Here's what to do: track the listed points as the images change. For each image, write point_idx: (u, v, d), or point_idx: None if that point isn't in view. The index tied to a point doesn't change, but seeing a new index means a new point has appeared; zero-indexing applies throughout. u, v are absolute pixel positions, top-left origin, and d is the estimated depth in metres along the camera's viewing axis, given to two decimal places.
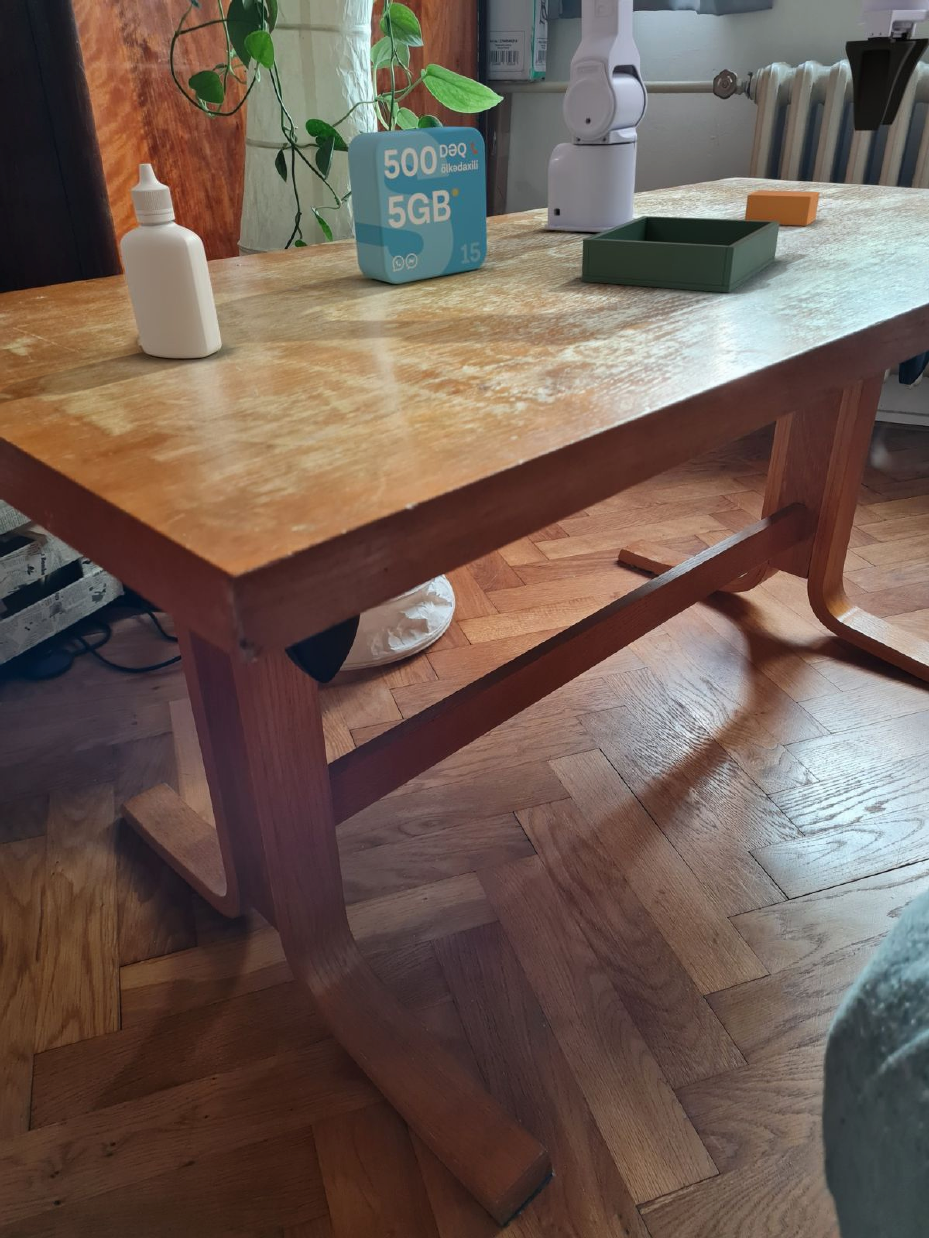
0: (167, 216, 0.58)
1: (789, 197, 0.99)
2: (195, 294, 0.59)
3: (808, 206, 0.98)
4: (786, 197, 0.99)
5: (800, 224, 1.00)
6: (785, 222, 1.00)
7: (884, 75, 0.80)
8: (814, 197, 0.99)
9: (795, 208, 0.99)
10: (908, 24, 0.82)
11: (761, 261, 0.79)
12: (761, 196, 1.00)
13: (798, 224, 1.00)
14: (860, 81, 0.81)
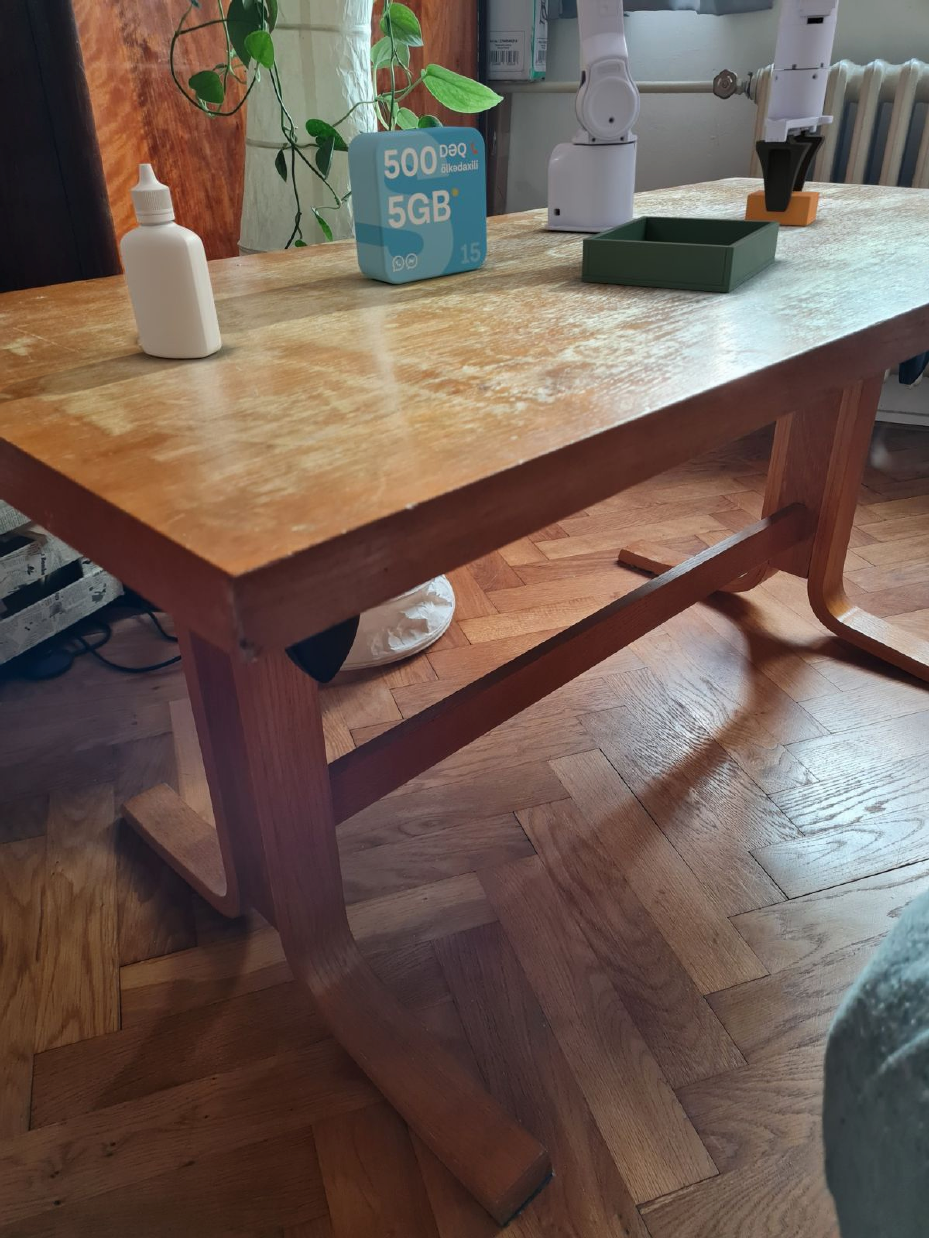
0: (167, 216, 0.58)
1: None
2: (195, 294, 0.59)
3: (808, 206, 0.98)
4: None
5: (800, 224, 1.00)
6: (785, 222, 1.00)
7: (788, 168, 0.97)
8: (814, 197, 0.99)
9: (795, 207, 0.99)
10: None
11: (761, 261, 0.79)
12: (761, 196, 1.00)
13: (798, 224, 1.00)
14: (768, 172, 0.98)
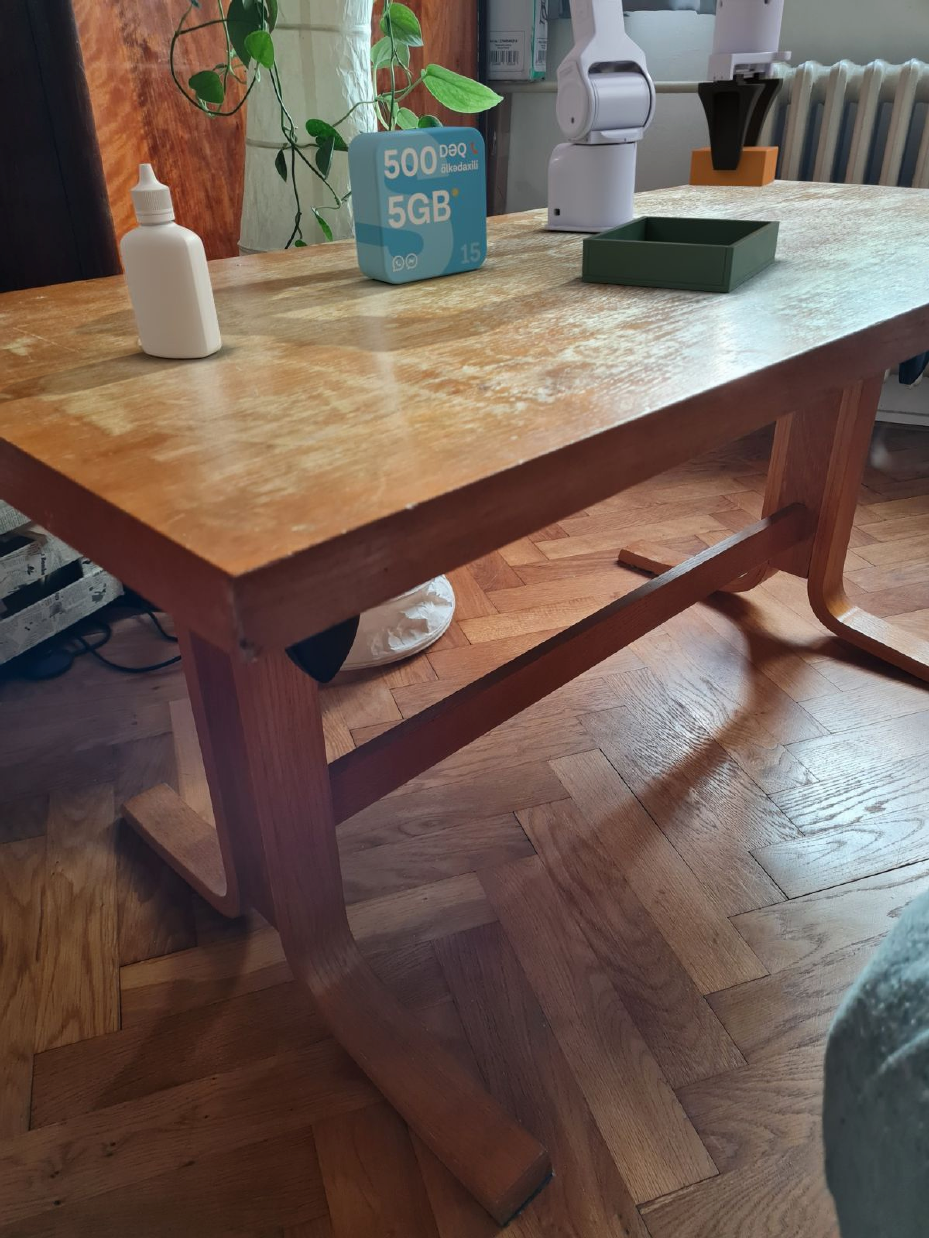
0: (167, 216, 0.58)
1: None
2: (195, 294, 0.59)
3: (763, 162, 0.81)
4: None
5: (754, 185, 0.83)
6: (737, 183, 0.83)
7: (737, 116, 0.80)
8: (771, 152, 0.82)
9: (748, 165, 0.82)
10: (761, 64, 0.82)
11: (761, 261, 0.79)
12: (708, 152, 0.83)
13: (752, 185, 0.83)
14: (714, 122, 0.81)
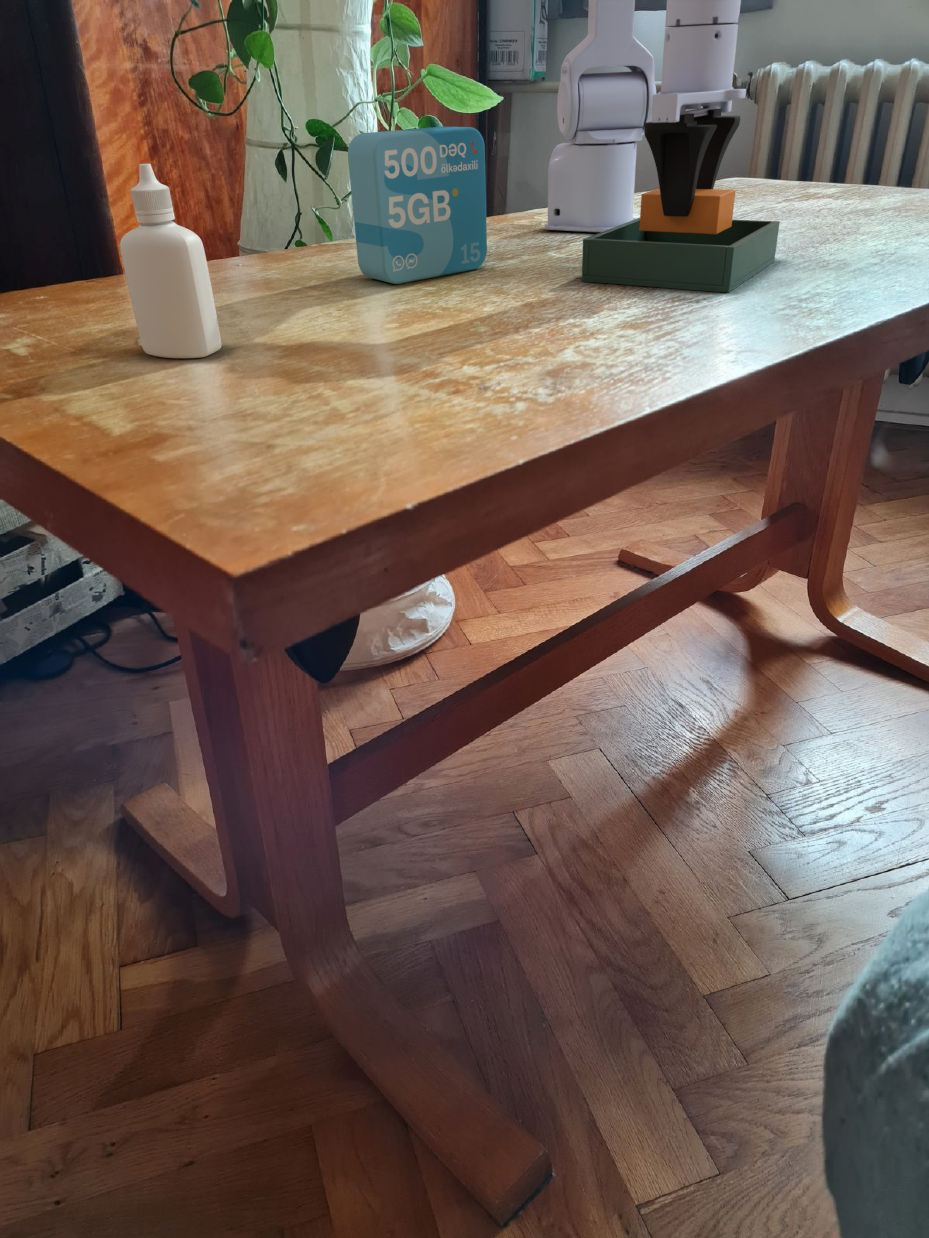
0: (167, 216, 0.58)
1: None
2: (195, 294, 0.59)
3: (717, 208, 0.75)
4: None
5: (708, 232, 0.76)
6: (690, 229, 0.77)
7: (687, 159, 0.73)
8: (726, 197, 0.76)
9: (701, 211, 0.75)
10: (715, 102, 0.75)
11: (761, 261, 0.79)
12: (658, 195, 0.77)
13: (706, 232, 0.76)
14: (663, 164, 0.74)
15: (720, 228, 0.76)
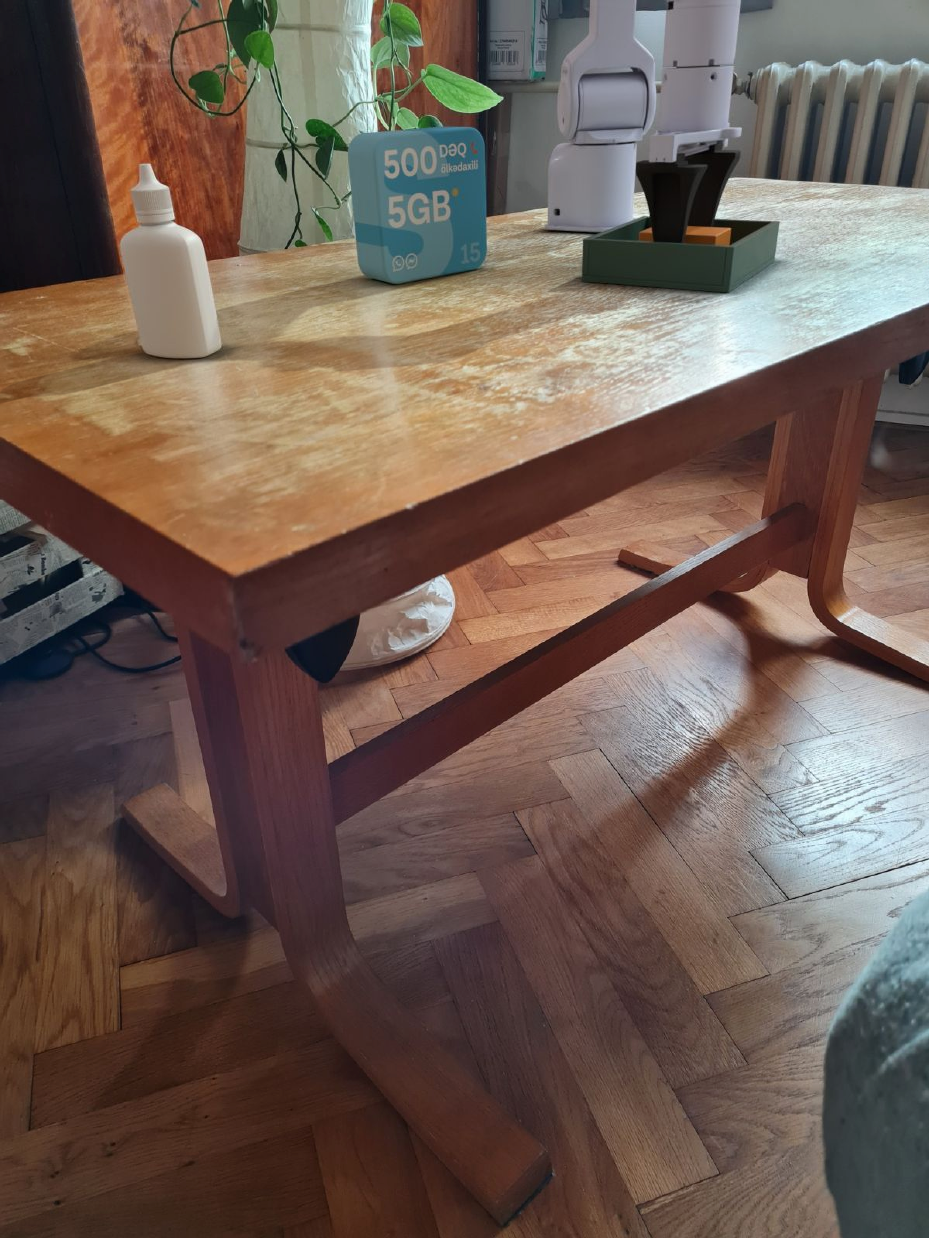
0: (167, 216, 0.58)
1: (690, 236, 0.77)
2: (195, 294, 0.59)
3: None
4: (686, 236, 0.77)
5: None
6: None
7: (679, 198, 0.74)
8: (722, 236, 0.77)
9: None
10: None
11: (761, 261, 0.79)
12: None
13: None
14: (655, 203, 0.75)
15: None
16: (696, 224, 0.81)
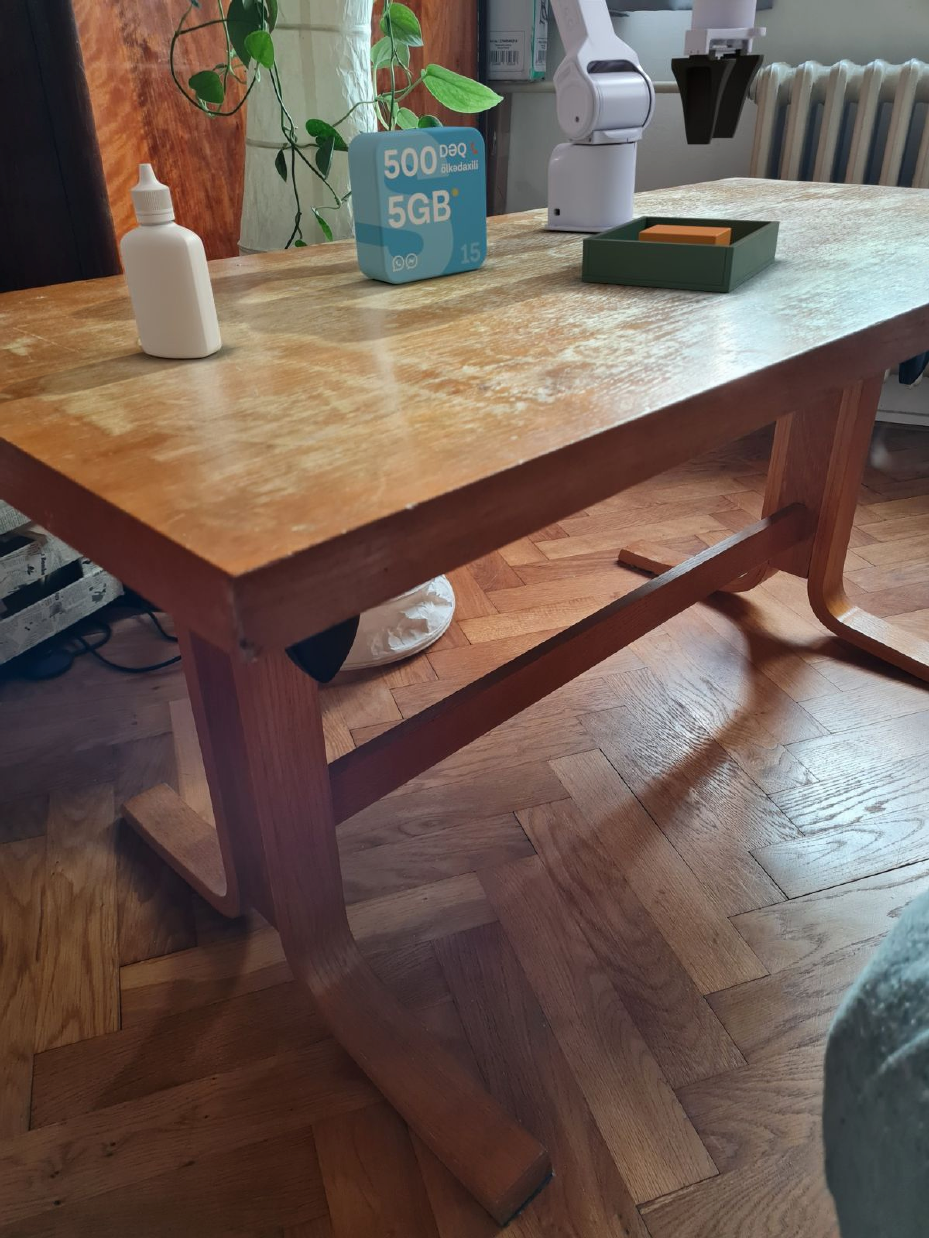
0: (167, 216, 0.58)
1: (690, 236, 0.77)
2: (195, 294, 0.59)
3: None
4: (686, 236, 0.77)
5: None
6: None
7: (709, 91, 0.82)
8: (722, 236, 0.77)
9: None
10: (738, 41, 0.85)
11: (761, 261, 0.79)
12: (655, 234, 0.78)
13: None
14: (688, 97, 0.83)
15: None
16: (723, 124, 0.90)
